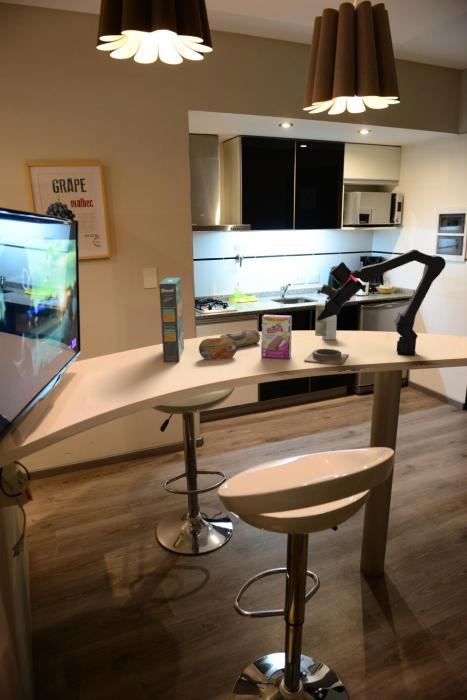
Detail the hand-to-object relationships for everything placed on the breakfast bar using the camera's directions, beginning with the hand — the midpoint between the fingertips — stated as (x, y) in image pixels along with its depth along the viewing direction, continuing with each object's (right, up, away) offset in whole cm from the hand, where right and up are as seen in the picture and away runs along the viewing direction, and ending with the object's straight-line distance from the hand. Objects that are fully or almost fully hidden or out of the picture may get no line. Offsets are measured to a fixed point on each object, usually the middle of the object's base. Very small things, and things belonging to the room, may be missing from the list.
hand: (317, 318), depth 187 cm
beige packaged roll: (-34, -12, +12) cm, 38 cm away
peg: (+1, -6, +1) cm, 7 cm away
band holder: (+2, -16, -10) cm, 19 cm away
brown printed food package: (-40, -16, -6) cm, 44 cm away
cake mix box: (-58, -15, 0) cm, 60 cm away
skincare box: (+9, -8, +23) cm, 26 cm away
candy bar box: (-17, -16, -6) cm, 24 cm away
